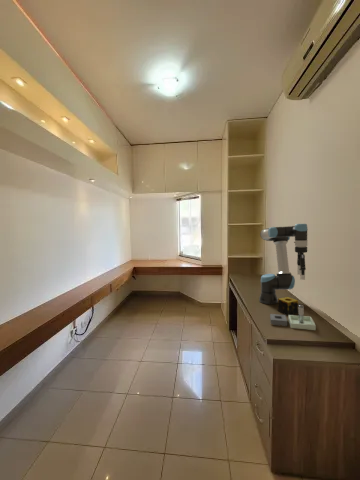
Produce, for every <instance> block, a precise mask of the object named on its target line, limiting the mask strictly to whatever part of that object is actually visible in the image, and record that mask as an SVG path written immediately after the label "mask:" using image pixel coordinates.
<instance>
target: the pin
mask: <svg viewBox="0 0 360 480" xmlns="http://www.w3.org/2000/svg"><path fill="white" fill-rule="evenodd" d="M304 312H305V309H304V305H303V304H298V316H299V323H300V324H304V316H305V315H304V314H305V313H304Z"/></svg>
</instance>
